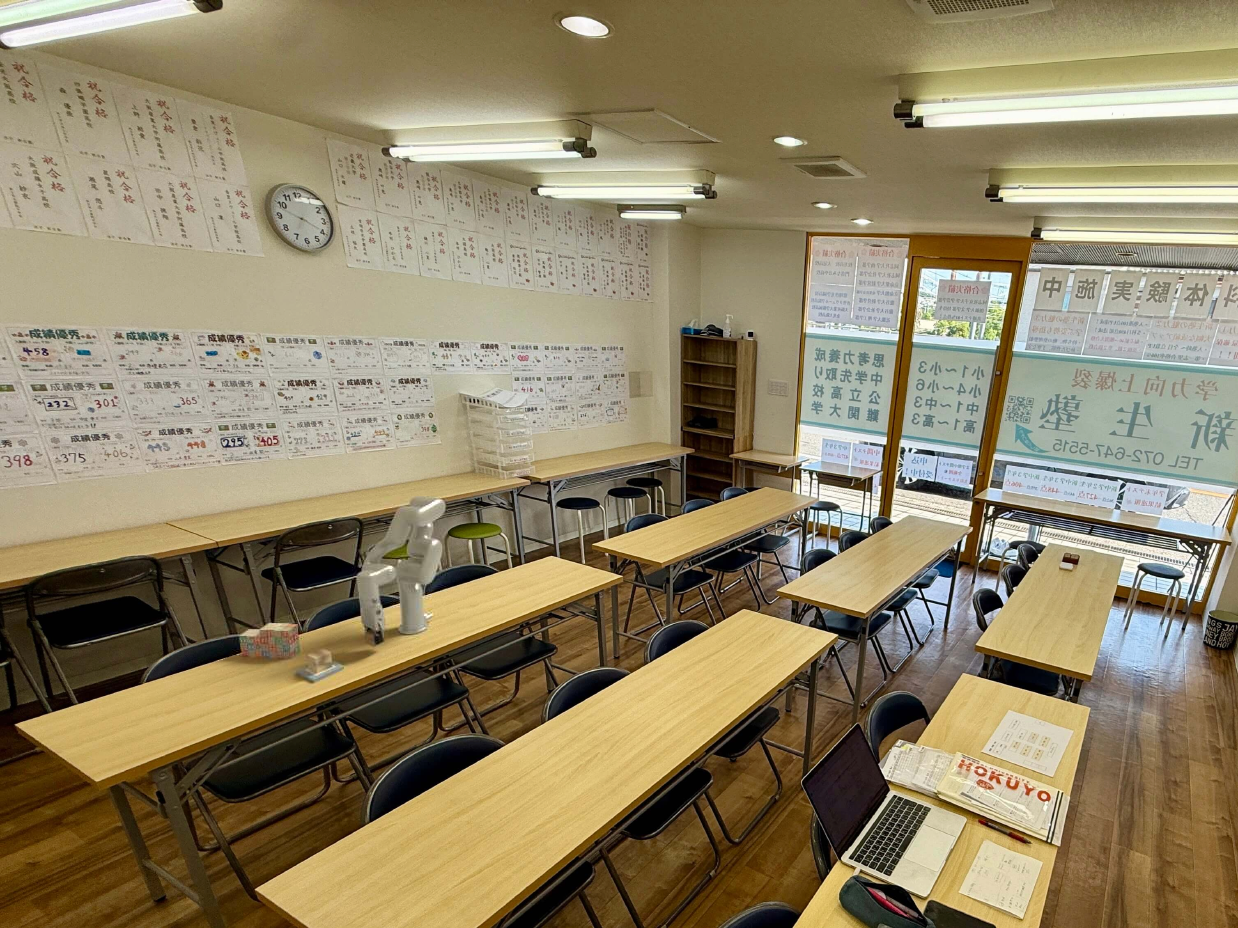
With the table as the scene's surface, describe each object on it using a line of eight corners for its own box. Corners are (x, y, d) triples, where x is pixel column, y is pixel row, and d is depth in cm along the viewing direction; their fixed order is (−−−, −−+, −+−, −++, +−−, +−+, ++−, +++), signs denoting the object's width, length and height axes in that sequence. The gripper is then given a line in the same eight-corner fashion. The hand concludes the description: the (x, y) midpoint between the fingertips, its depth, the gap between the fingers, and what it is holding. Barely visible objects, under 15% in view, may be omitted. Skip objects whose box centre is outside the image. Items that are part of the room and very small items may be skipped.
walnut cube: (377, 638, 242) (375, 627, 241) (384, 641, 239) (383, 630, 238) (366, 643, 238) (364, 632, 237) (373, 646, 235) (372, 635, 234)
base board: (327, 660, 232) (326, 657, 232) (344, 668, 225) (344, 665, 225) (296, 673, 222) (296, 670, 222) (313, 682, 215) (313, 679, 215)
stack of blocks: (241, 657, 235) (237, 628, 233) (252, 649, 241) (248, 621, 239) (291, 658, 233) (287, 630, 231) (300, 651, 239) (297, 623, 237)
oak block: (323, 662, 227) (322, 648, 226) (332, 666, 224) (331, 652, 223) (308, 669, 223) (307, 654, 222) (317, 673, 219) (315, 658, 218)
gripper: (391, 601, 233) (396, 643, 237) (365, 592, 242) (371, 632, 246) (374, 609, 227) (379, 651, 231) (349, 599, 236) (354, 640, 240)
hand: (375, 641), depth 238 cm, fingers closed on walnut cube, 5 cm apart
